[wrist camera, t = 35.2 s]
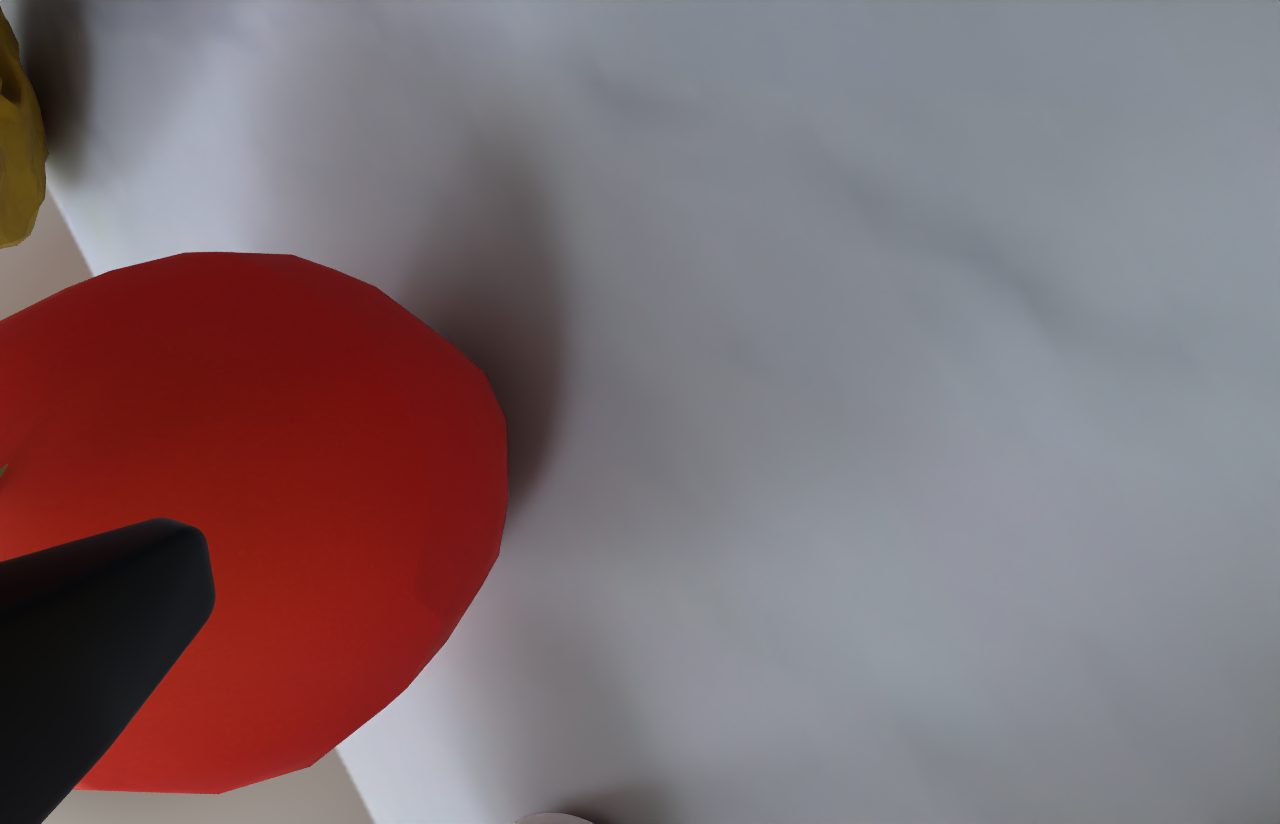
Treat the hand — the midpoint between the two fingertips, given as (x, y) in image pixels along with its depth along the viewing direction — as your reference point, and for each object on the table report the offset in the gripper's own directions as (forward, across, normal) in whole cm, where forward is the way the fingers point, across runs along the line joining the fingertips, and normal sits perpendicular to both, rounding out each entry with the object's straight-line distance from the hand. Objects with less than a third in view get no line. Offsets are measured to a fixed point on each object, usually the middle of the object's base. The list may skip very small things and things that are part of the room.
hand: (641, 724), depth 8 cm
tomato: (+15, +11, +9) cm, 20 cm away
